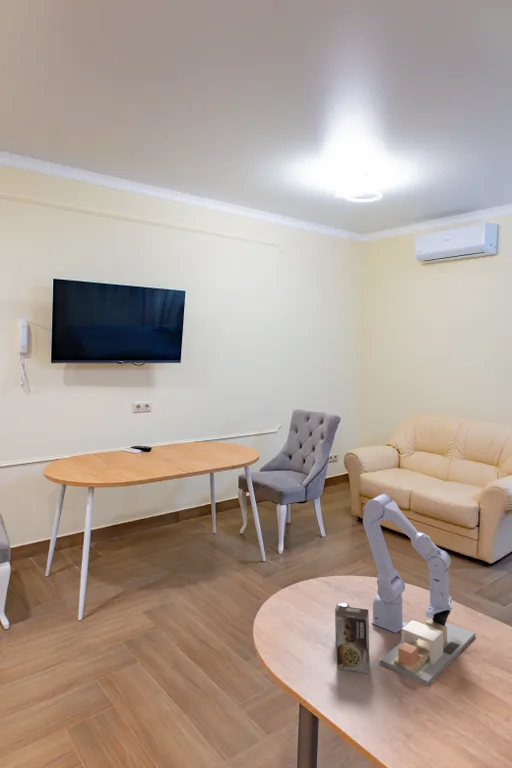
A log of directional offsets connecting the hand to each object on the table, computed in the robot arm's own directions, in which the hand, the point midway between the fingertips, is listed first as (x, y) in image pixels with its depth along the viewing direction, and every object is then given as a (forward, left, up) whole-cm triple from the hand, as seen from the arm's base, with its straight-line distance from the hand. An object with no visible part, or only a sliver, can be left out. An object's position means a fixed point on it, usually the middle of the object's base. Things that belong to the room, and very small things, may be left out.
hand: (439, 631), depth 159 cm
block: (0, -21, 0) cm, 21 cm away
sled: (0, -13, -1) cm, 13 cm away
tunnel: (0, -12, -2) cm, 12 cm away
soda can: (-22, -22, -3) cm, 31 cm away
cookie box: (-13, -30, -3) cm, 33 cm away
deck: (0, -7, -3) cm, 8 cm away
